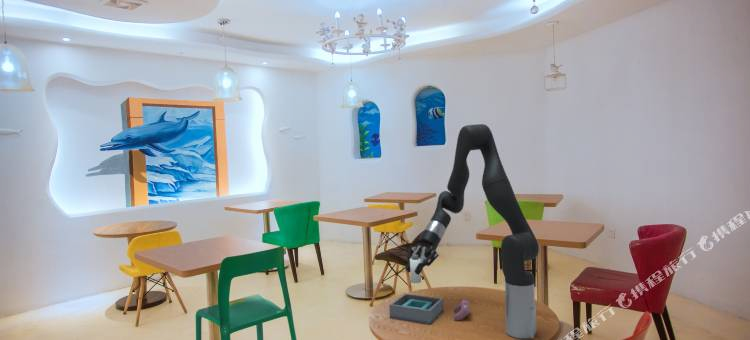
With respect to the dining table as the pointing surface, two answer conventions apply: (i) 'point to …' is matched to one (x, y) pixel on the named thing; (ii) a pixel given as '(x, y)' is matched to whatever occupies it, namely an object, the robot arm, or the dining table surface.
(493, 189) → the robot arm
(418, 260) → the plug
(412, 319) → the walled box
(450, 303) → the dining table surface
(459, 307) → the video game controller
